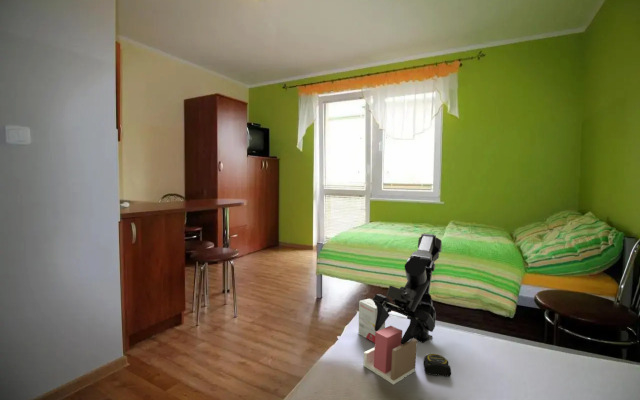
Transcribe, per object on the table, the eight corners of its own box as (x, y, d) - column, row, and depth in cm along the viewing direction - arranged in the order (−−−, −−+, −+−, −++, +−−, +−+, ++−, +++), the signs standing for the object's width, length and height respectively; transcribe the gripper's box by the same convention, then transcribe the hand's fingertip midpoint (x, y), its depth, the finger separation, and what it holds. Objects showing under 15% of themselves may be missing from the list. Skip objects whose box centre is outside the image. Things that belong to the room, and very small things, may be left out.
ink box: (385, 340, 104) (387, 306, 104) (374, 344, 101) (376, 309, 101) (367, 330, 112) (369, 297, 111) (357, 333, 109) (358, 300, 108)
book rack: (385, 354, 96) (386, 325, 95) (415, 370, 88) (417, 339, 87) (363, 365, 89) (365, 335, 89) (393, 384, 81) (395, 351, 81)
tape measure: (424, 377, 85) (425, 363, 85) (422, 363, 92) (422, 350, 92) (451, 381, 84) (451, 368, 84) (446, 367, 90) (447, 354, 90)
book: (389, 358, 92) (390, 325, 91) (400, 364, 89) (402, 330, 88) (373, 366, 87) (375, 332, 87) (385, 373, 84) (387, 337, 84)
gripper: (378, 268, 97) (351, 310, 91) (432, 284, 83) (405, 335, 76) (392, 288, 103) (367, 329, 96) (445, 307, 88) (421, 357, 82)
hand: (388, 336), depth 88 cm, fingers open, 9 cm apart
